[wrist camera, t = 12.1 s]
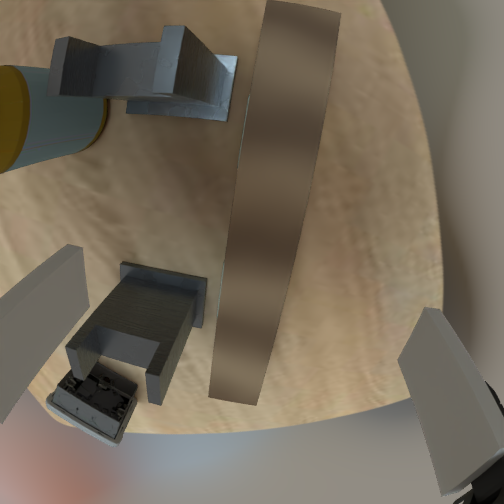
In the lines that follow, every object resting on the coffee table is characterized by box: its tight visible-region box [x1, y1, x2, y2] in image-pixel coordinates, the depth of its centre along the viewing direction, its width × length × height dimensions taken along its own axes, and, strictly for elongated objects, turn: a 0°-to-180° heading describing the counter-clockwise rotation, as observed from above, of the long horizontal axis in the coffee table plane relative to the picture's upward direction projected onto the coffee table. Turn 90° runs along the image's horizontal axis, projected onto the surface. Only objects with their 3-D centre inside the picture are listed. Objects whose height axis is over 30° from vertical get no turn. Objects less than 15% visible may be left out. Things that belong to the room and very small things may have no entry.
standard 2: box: [46, 26, 238, 121], centre depth 15 cm, size 5×8×11 cm, turn 81°
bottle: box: [0, 65, 107, 174], centre depth 15 cm, size 7×7×15 cm
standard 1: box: [65, 262, 207, 406], centre depth 22 cm, size 5×8×11 cm, turn 81°
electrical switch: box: [46, 362, 138, 447], centre depth 29 cm, size 9×5×9 cm, turn 60°
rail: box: [208, 0, 341, 406], centre depth 20 cm, size 28×4×4 cm, turn 171°
